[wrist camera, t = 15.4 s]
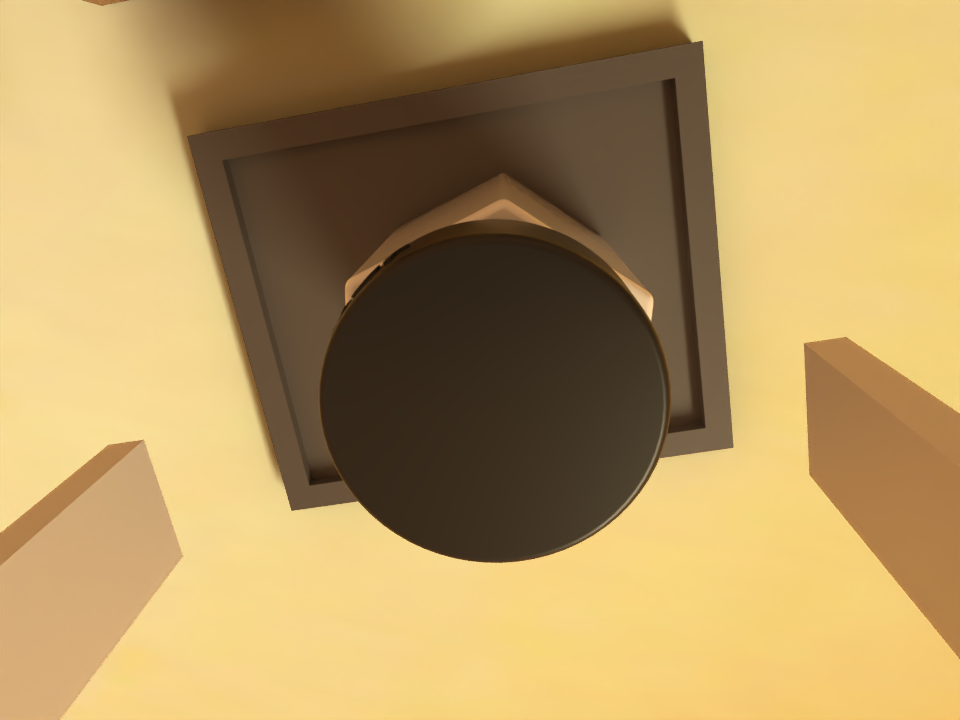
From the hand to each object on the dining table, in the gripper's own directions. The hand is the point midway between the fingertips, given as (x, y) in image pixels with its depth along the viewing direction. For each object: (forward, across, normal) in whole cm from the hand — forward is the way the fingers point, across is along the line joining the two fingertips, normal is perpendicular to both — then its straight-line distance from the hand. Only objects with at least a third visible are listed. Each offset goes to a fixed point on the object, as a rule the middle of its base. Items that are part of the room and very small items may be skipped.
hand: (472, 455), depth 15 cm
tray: (+15, +1, 0) cm, 15 cm away
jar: (+14, 0, 0) cm, 14 cm away
